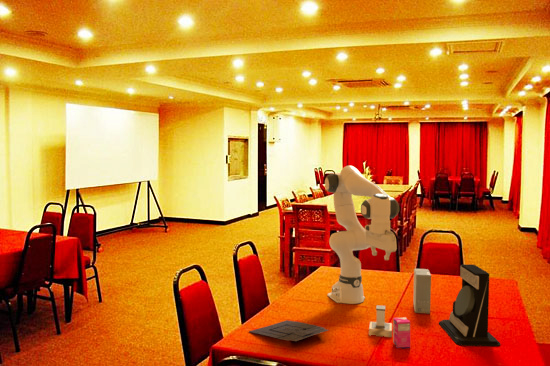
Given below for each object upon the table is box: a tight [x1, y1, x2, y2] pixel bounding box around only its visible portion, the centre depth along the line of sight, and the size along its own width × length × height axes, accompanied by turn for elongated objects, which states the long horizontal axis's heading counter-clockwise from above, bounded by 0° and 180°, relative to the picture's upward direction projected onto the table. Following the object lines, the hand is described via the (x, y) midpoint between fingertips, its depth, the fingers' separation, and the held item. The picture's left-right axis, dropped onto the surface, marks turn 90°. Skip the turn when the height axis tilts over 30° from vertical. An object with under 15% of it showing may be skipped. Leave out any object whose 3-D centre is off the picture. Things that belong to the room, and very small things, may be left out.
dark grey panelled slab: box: [249, 319, 329, 342], centre depth 226 cm, size 24×30×4 cm
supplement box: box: [392, 316, 411, 349], centre depth 213 cm, size 6×6×12 cm
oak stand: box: [368, 321, 393, 338], centre depth 229 cm, size 10×10×3 cm
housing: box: [375, 304, 386, 328], centre depth 229 cm, size 4×5×8 cm
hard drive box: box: [412, 268, 432, 314], centre depth 263 cm, size 16×8×20 cm, turn 168°
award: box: [438, 263, 501, 347], centre depth 227 cm, size 30×19×30 cm, turn 178°
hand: (380, 257), depth 237 cm, fingers open, 8 cm apart
